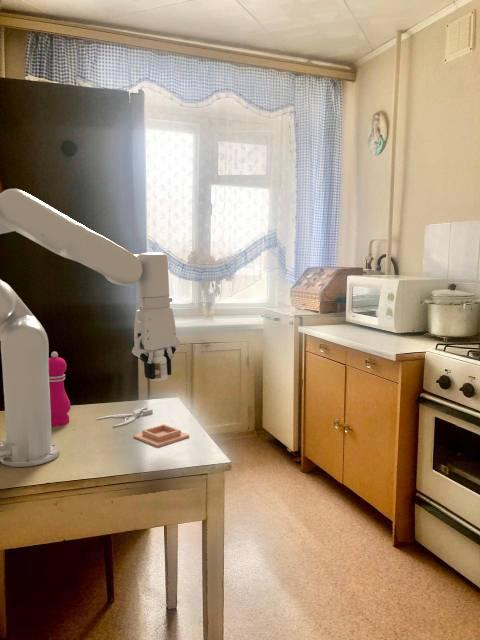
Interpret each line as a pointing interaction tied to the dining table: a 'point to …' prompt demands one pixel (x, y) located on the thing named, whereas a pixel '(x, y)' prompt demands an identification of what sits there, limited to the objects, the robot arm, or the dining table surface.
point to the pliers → (133, 416)
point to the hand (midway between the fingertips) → (158, 375)
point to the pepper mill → (58, 391)
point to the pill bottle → (159, 365)
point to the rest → (161, 435)
